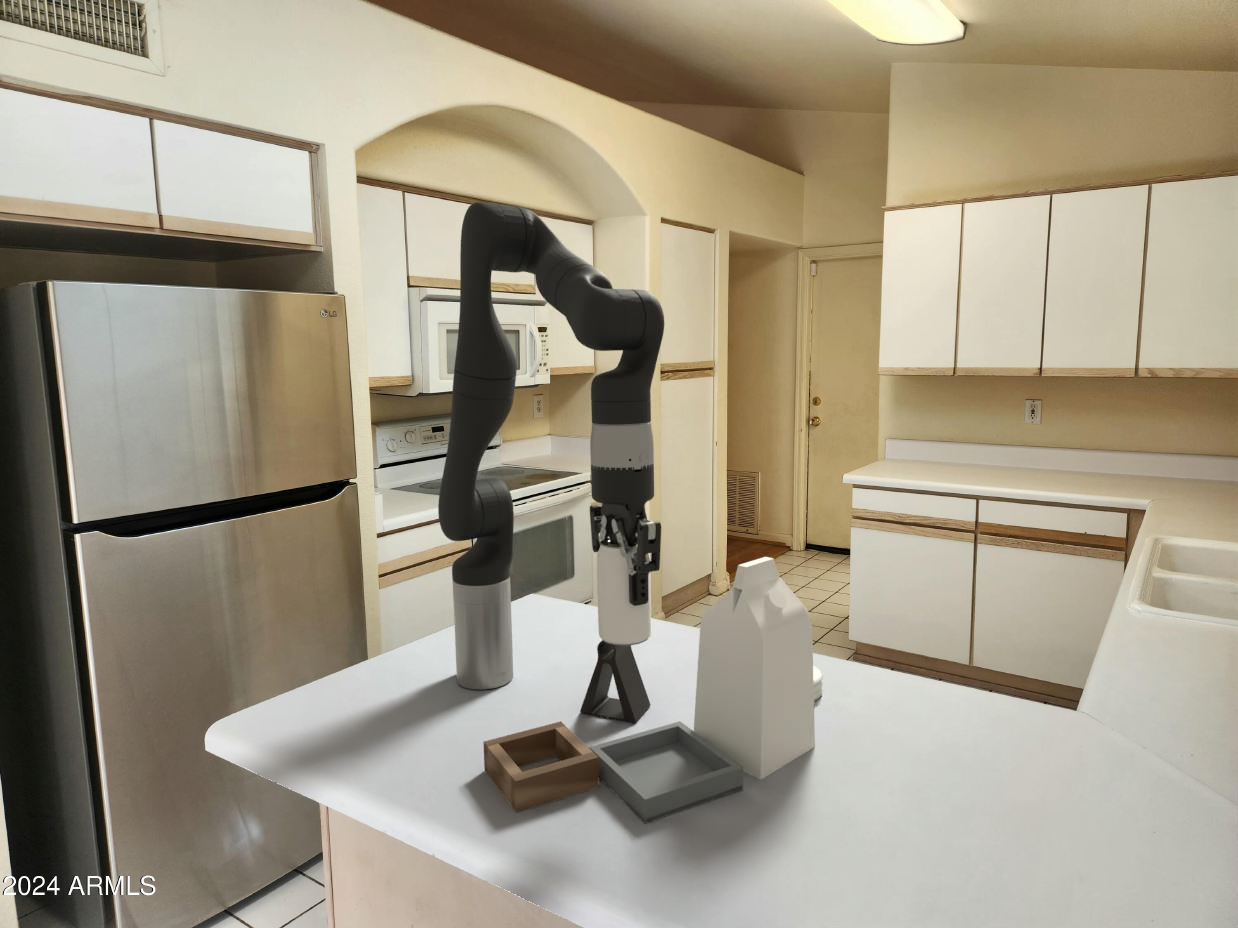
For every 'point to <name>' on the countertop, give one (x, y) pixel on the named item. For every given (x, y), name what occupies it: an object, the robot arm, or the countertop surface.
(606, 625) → the can
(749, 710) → the milk
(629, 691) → the phone stand
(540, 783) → the socket block
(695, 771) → the tray
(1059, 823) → the countertop surface
